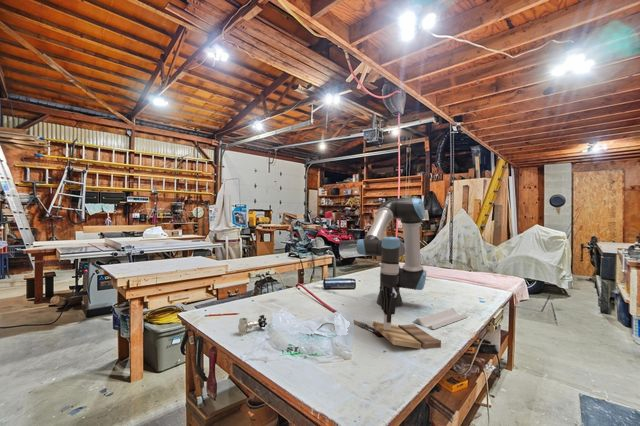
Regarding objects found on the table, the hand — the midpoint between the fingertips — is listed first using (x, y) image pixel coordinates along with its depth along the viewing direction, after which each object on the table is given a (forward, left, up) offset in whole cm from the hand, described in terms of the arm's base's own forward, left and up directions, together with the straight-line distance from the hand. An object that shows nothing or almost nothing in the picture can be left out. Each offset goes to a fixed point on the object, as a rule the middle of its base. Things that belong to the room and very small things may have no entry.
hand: (387, 329), depth 121 cm
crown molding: (-18, +40, -6) cm, 44 cm away
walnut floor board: (0, +15, -5) cm, 16 cm away
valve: (-21, -56, -5) cm, 60 cm away
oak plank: (0, +4, -3) cm, 5 cm away
